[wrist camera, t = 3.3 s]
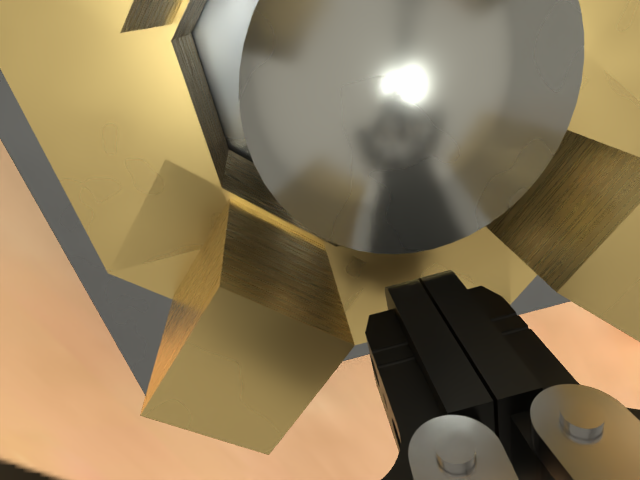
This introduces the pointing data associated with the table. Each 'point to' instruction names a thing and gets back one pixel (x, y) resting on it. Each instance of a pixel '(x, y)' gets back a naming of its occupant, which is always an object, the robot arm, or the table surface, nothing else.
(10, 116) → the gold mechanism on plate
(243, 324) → the ring nut
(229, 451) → the table surface
